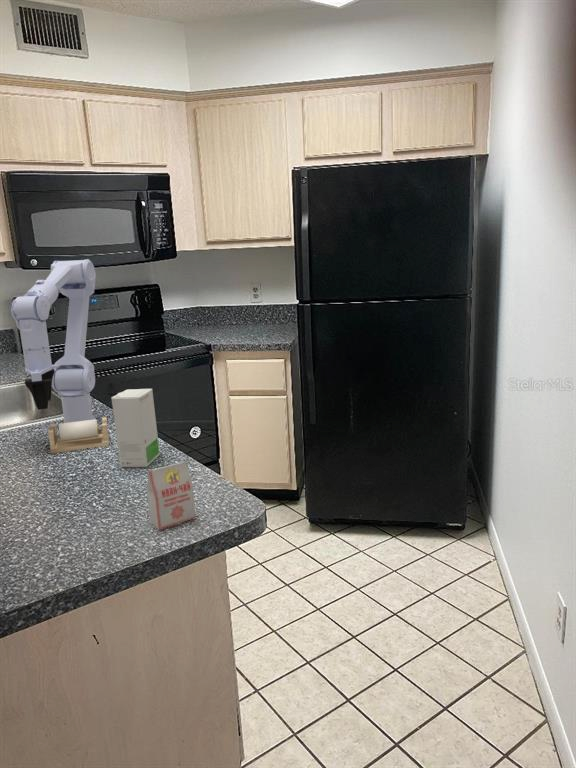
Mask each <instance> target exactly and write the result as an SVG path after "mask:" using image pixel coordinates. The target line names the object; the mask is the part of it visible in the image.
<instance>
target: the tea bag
mask: <svg viewBox="0 0 576 768" xmlns="http://www.w3.org/2000/svg"><path fill="white" fill-rule="evenodd" d="M188 466H189V465H188V461H180V462H177V463H173V464H170V465H166V466H161V467H159V468H154V469H150V470H148V471H147V474H148V476H147V487H146V488H147V489H146V493H147V501H148V502H147V503H148V512H149V522H150V524H151V525H153V526H154V528H155V529H157V530H158V531H161V529H162V530H164V528H165V529H167V527H168V528H170V526H171V527H174V526H176V524H177V525H179V524H178V523H180V524H183V523H186V522H185V521H187V520H190V521H192V520H191V519H193V520H195V519H194V518H196V506H195V496H194V487H193V482H192V479H191V475H190V470H189V467H188ZM196 519H197V518H196ZM182 522H183V523H182ZM187 522H188V521H187ZM173 525H174V526H173Z"/></svg>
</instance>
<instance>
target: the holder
mask: <svg viewBox="0 0 576 768" xmlns="http://www.w3.org/2000/svg"><path fill="white" fill-rule="evenodd" d="M107 419H108V418H107V416H105V417H101V427H99V433H98V434H99V437H94V438H86V439H78V440H70V441H63V442H61V440H60V437H59V436H58V434H57V429H56V423H55V422H54V423H50V425H49V429H48V431H47V433H48V434H47V435H48V440H49V448H50V449H49V450H50V454H56V453H63V452H71V451H72V452H73V451H81V450H87V448H88V449H95V447H96V448H102V447H109V446H110V435H109V429H108V427H109V426H108V420H107Z"/></svg>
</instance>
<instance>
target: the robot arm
mask: <svg viewBox="0 0 576 768" xmlns="http://www.w3.org/2000/svg"><path fill="white" fill-rule="evenodd" d="M96 278H97V274H96V269H95V266H94V264H93V262H92V261H91V260H90V259H89V258H87V259H80V260H77V259H76V260H75V259H74V260H54V261H53V262H52V264H50V273H49V274H48V276H47V277H46V279H37V280H36V281H35V284H34V285H33V286H32V287H31V288H30V289H29V290H27V292H26V293H25V294H24V295H22V296H17V297H16V298H14V299H13V300H12V303H11V309H10V312H11V316H12V318H13V320H14V321H15V326H16V328H17V330H19V333H20V340H21V347H22V351H23V352H22V353H23V354H22V355H23V360H24V366H25V368H24V371H25V373H27V374H28V375H29V376H30V379H25V380H24V385H25V386H26V387H27V389H28V390H29V392H30V393H31V395H32V398H33V401H34V404H35V407H36V408H37V410H47V409H49V401H51V399H52V389H53V391H54V392H56V393H57V396H60V398H61V399H60V401H61V406H62V414H63V420H64V421H63V423H69V422H78V421H86V420H94V419H96V416H94V415H93V410H92V401H91V394H90V393H91V392H92V390H93V389H94V388H95V385H96V375H95V366H94V364H93V362H91V361H90V360H89V359H87V358H86V357H85V354H86V344H87V343H86V342H87V341H86V340H87V334H88V333H87V329H88V318H89V307H90V306H89V305H90V297H92V295H93V294H95V289H96V288H95V287H96ZM59 291H60V293H61V294H62V295H63V296H65V297H67V298H68V300H69V301H68V309H67V310H68V311H67V312H68V313H67V322H66V323H67V324H66V333H65V334H66V335H65V343H64V354H63V356H62V357H61V358H59V359H57V361H56V362H54V364H52V362H53V361H52V356H51V350H50V342H49V335H48V328H47V322H46V320H48V319H49V317H50V310H51V307H52V306H53V304H54V303H55V302H56V300H57V299H58V297H59Z"/></svg>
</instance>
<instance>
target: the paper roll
mask: <svg viewBox="0 0 576 768" xmlns="http://www.w3.org/2000/svg"><path fill="white" fill-rule="evenodd" d="M99 428H100V426H99V425H98V419H96V418H95V419H94V420H86V421H78V422H69V423H64V422H62V423H59V424H58V438H59V437H60V440H61V442H63V441H70V440H78V439H86V438H94V437H99V434H98V433H99Z"/></svg>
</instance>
